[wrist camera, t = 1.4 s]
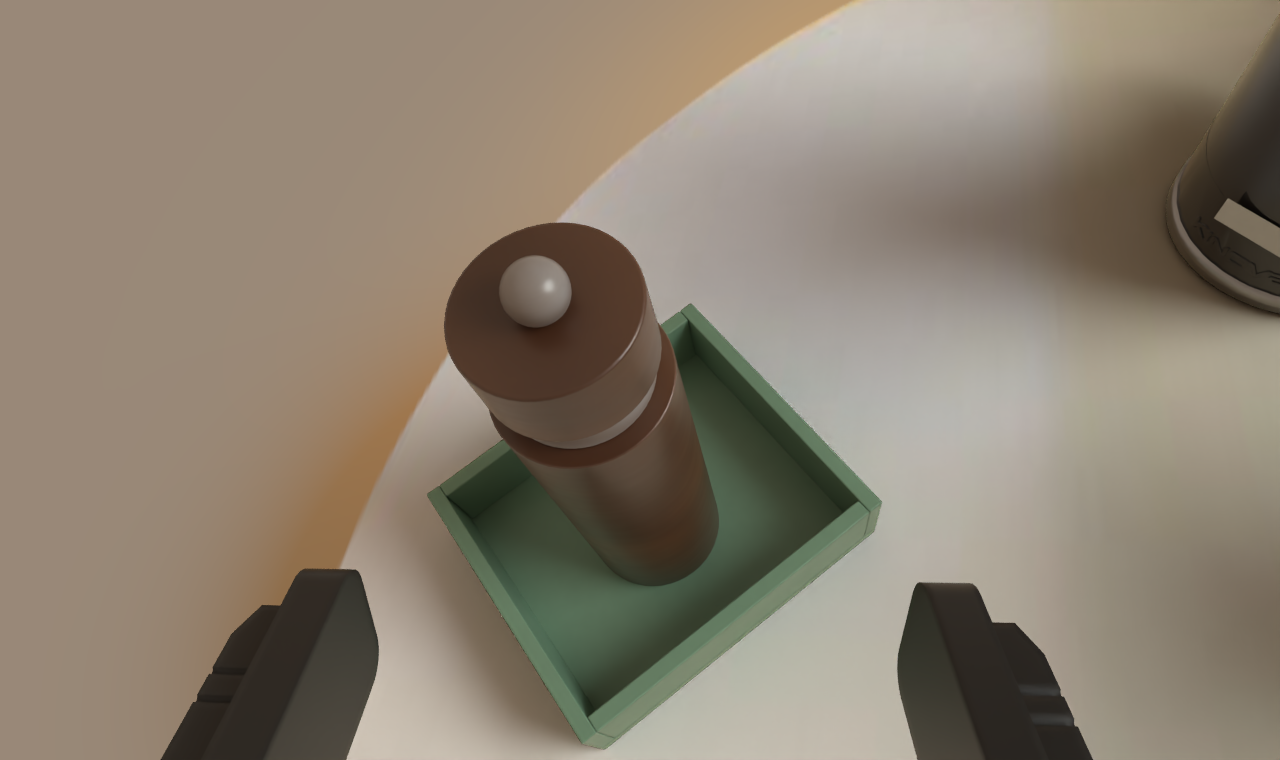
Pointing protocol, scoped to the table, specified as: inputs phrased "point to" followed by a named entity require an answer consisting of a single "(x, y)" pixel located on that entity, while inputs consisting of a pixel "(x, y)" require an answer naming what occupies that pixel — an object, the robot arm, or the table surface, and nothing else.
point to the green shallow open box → (684, 610)
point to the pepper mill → (588, 394)
